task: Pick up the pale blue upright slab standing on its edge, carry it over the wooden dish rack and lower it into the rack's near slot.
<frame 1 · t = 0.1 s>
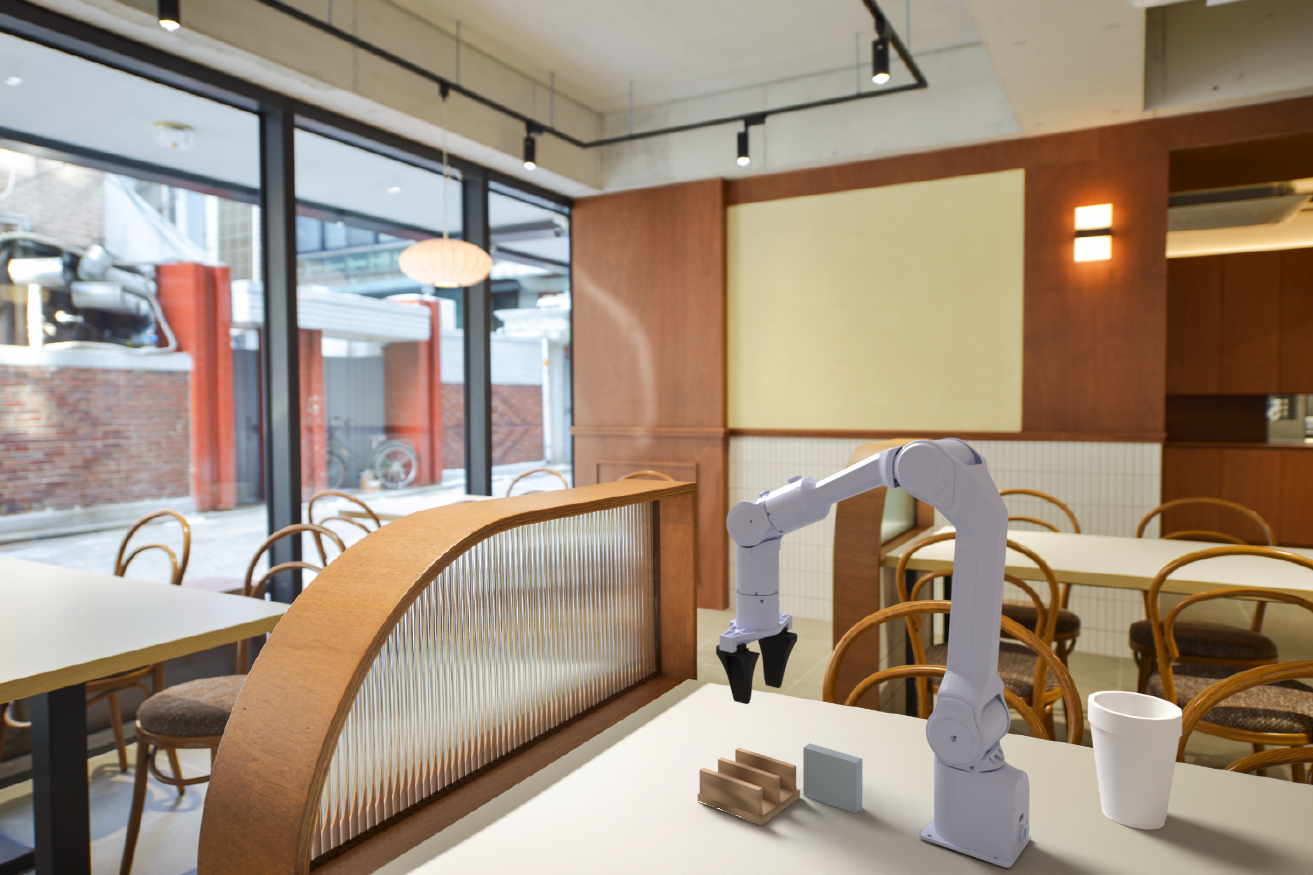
hand: (757, 693, 106), 10 cm above the table, tool pointing down, fingers open, 7 cm apart
pale blue upright slab: (832, 801, 97), on the table
foam cup: (1132, 817, 93), on the table
rack: (749, 799, 97), on the table
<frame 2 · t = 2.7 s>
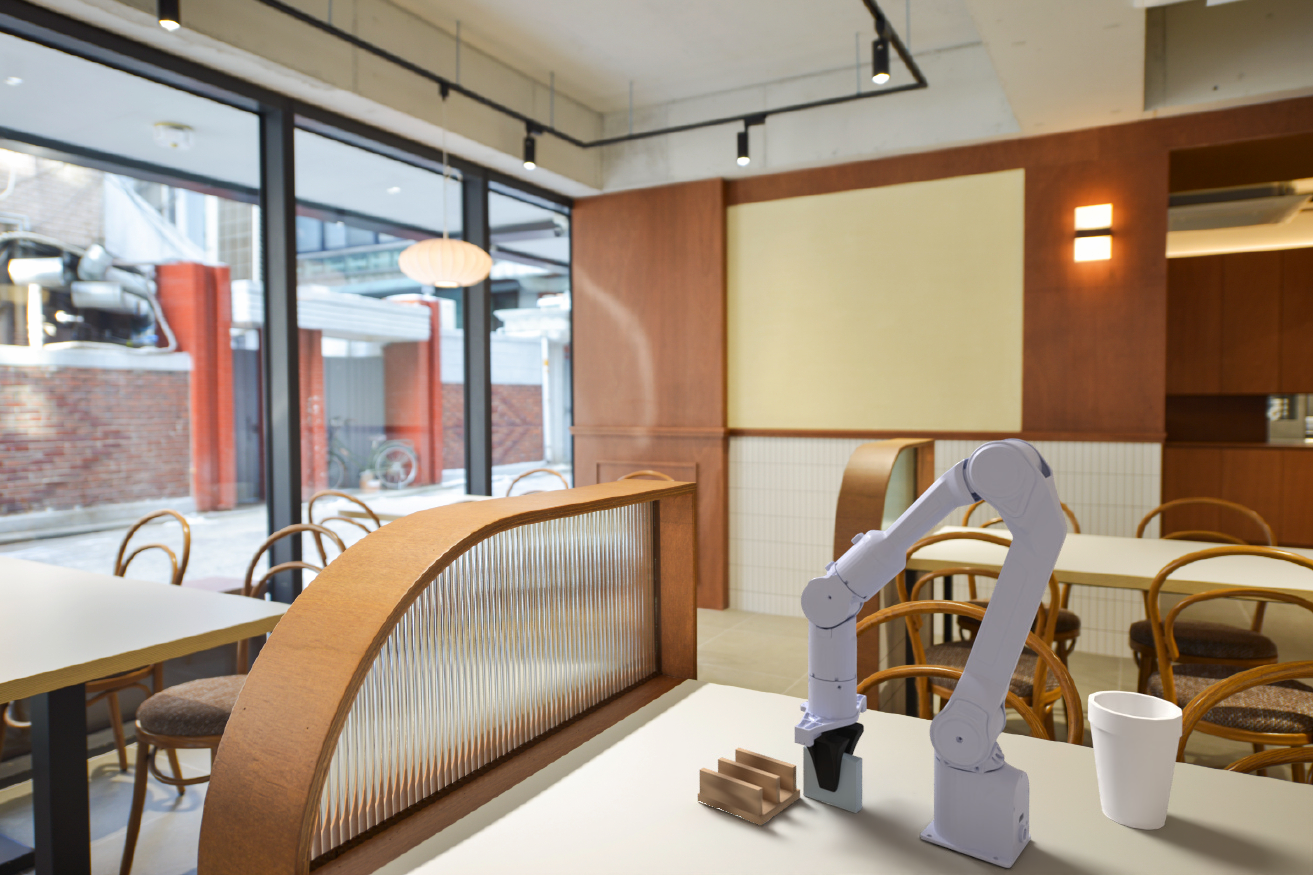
hand: (832, 785, 97), 2 cm above the table, tool pointing down, fingers closed on pale blue upright slab, 2 cm apart
pale blue upright slab: (832, 801, 97), on the table, touching gripper
everything else where it was.
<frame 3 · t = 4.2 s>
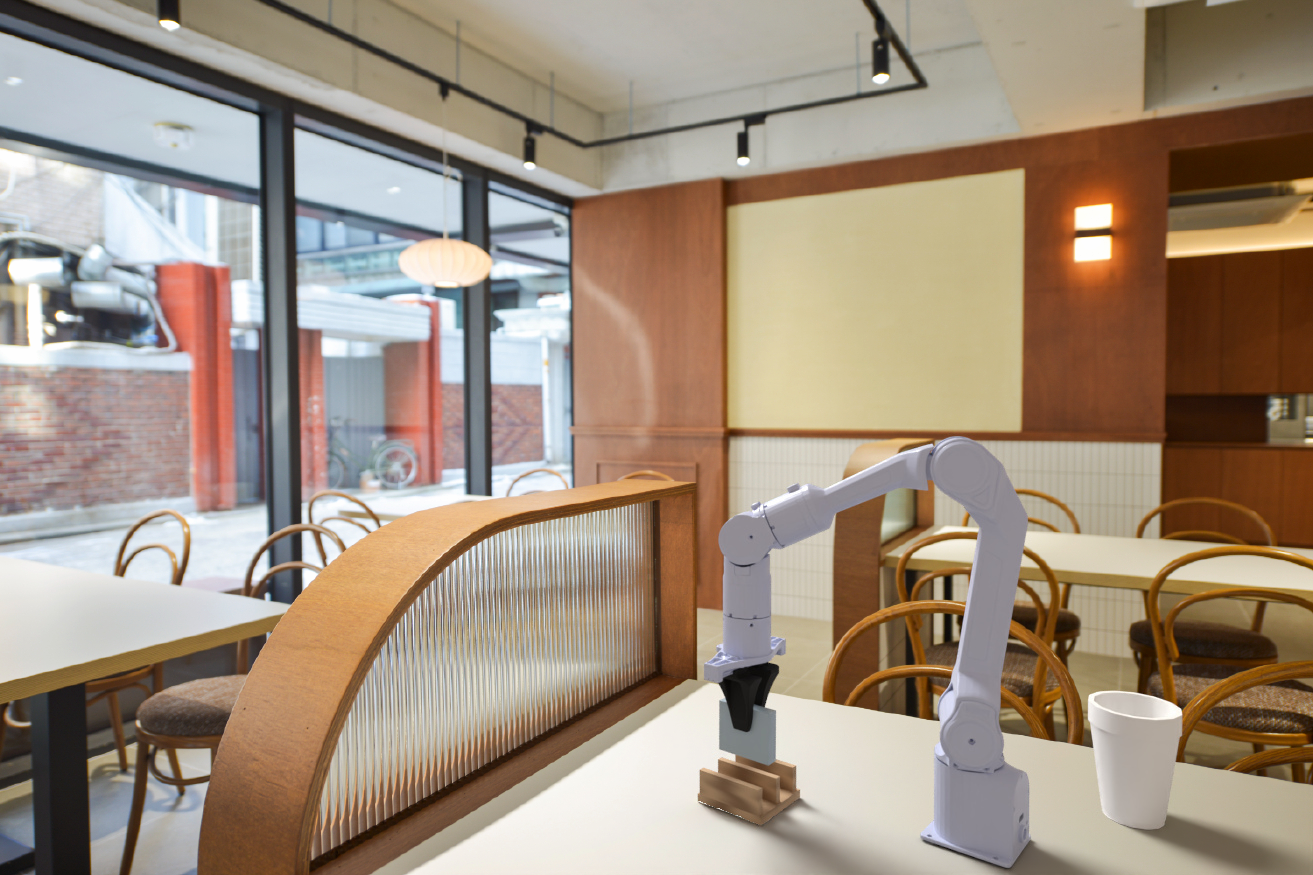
hand: (746, 726, 96), 10 cm above the table, tool pointing down, fingers closed on pale blue upright slab
pale blue upright slab: (746, 754, 96), point 6 cm above the table, touching gripper
everything else where it was.
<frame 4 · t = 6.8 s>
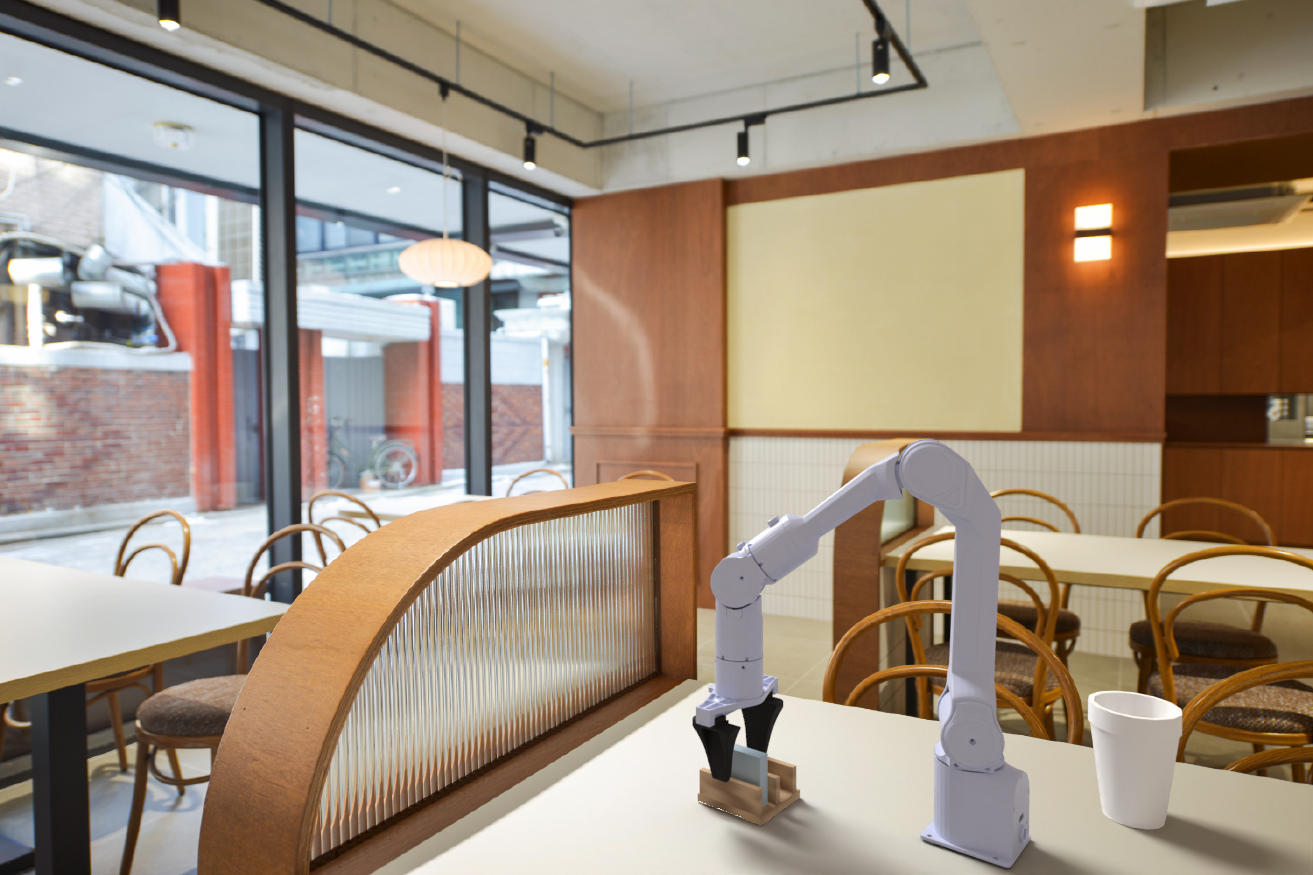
hand: (739, 767, 96), 5 cm above the table, tool pointing down, fingers open, 7 cm apart
pale blue upright slab: (739, 797, 96), point 1 cm above the table, touching rack
everything else where it was.
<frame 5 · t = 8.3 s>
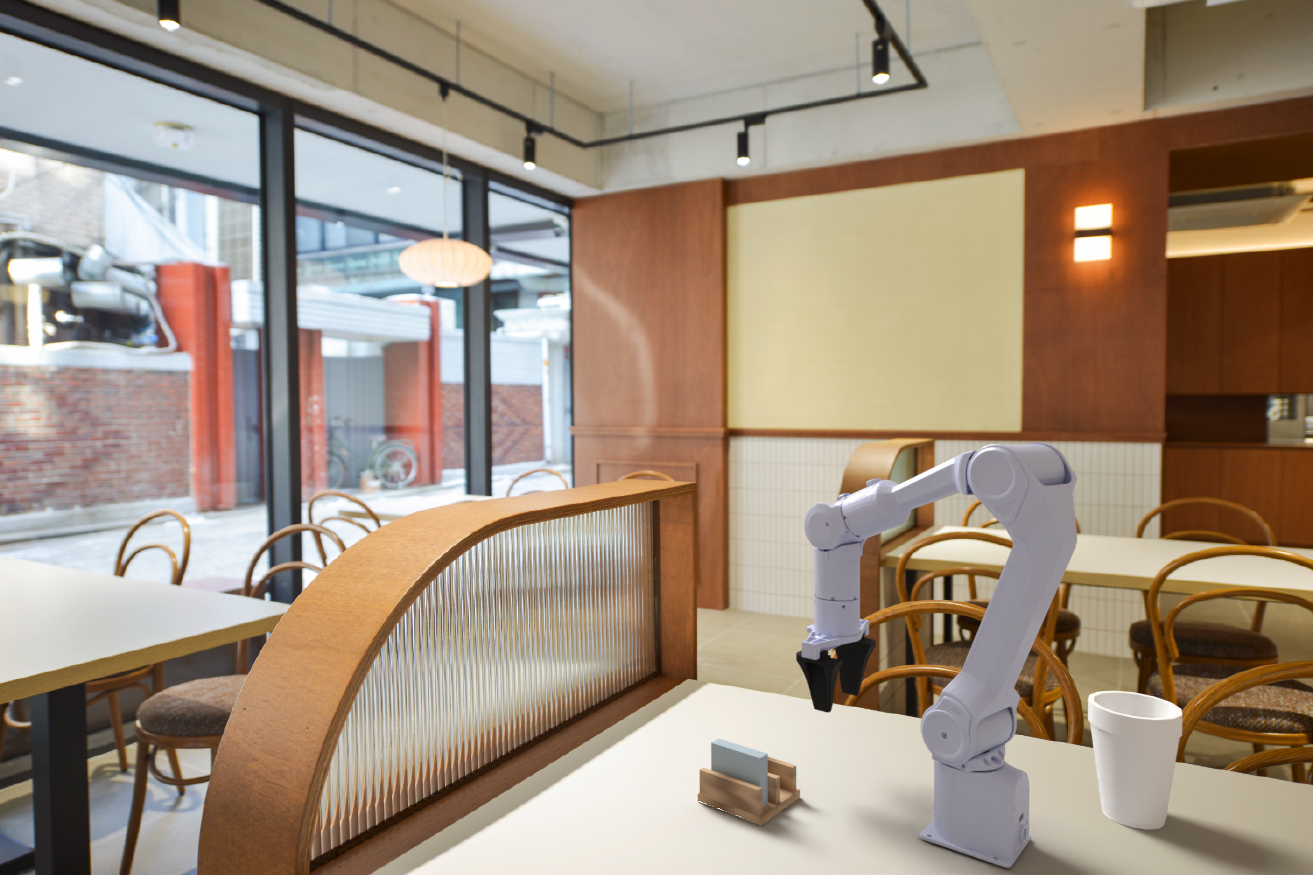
hand: (836, 701, 103), 10 cm above the table, tool pointing down, fingers open, 7 cm apart
nothing on the table moved.
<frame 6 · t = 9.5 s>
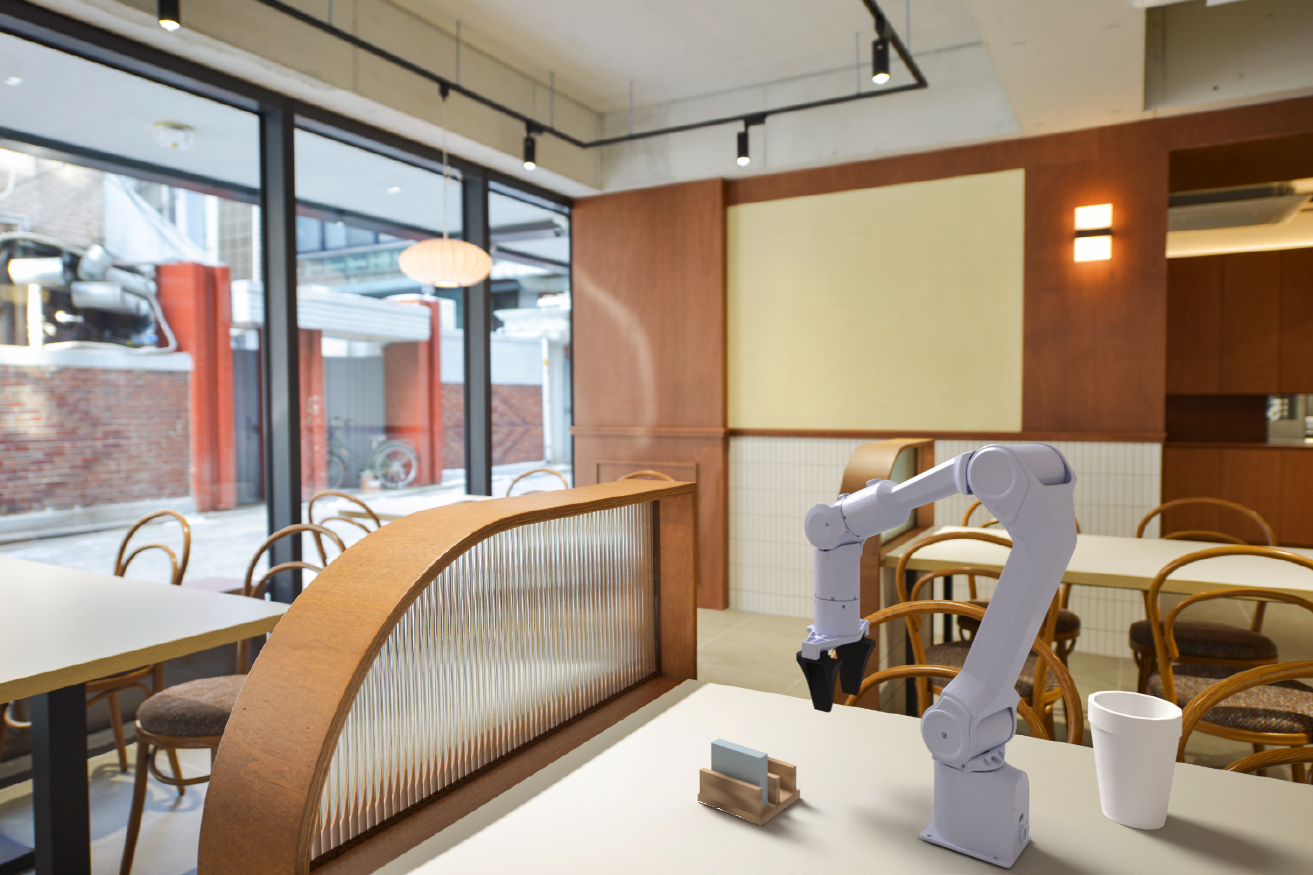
hand: (836, 701, 103), 10 cm above the table, tool pointing down, fingers open, 7 cm apart
nothing on the table moved.
at the end: pale blue upright slab 0.0 cm from the target spot on the rack, point 1.0 cm above the rack's base; pale blue upright slab tilted 0°; the gripper is holding nothing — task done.
